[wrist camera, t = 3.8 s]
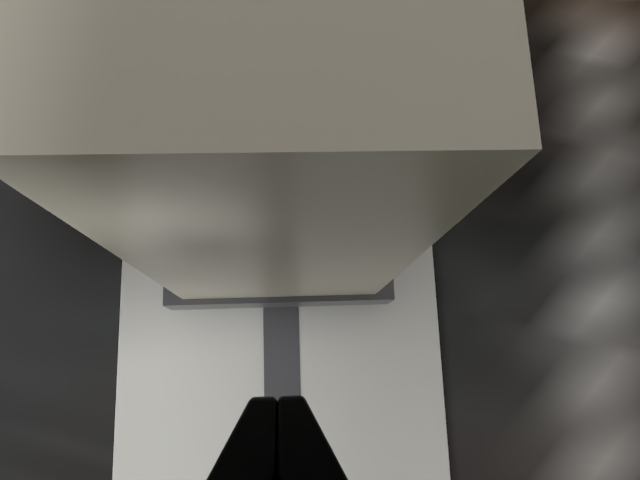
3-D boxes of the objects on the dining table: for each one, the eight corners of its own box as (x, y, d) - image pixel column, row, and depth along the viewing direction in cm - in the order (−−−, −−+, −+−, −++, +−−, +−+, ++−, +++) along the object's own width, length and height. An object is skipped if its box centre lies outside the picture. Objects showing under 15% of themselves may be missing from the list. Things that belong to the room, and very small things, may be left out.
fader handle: (387, 304, 16) (599, 163, 5) (171, 310, 16) (-100, 172, 5) (381, 208, 16) (558, -100, 6) (173, 211, 16) (-61, -110, 5)
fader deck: (441, 537, 16) (456, 555, 15) (124, 554, 16) (107, 574, 14) (406, 67, 20) (416, 42, 18) (144, 68, 19) (131, 42, 18)
